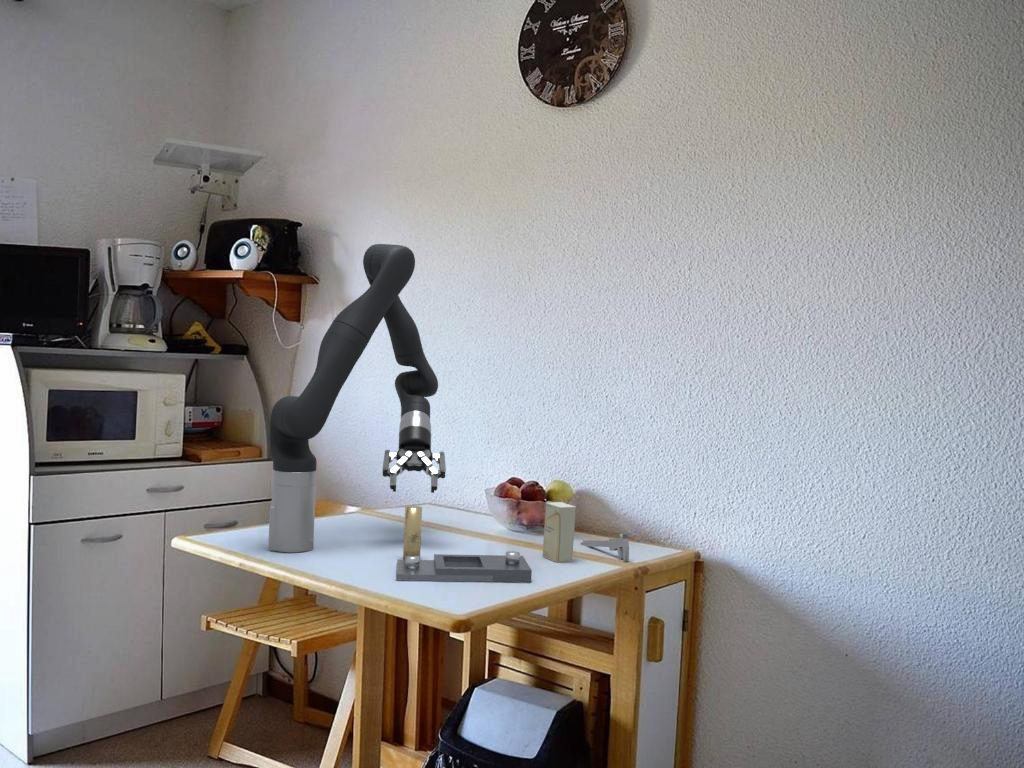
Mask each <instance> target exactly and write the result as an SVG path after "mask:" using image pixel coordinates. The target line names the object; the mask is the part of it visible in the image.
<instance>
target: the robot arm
mask: <svg viewBox="0 0 1024 768" xmlns="http://www.w3.org/2000/svg"><path fill="white" fill-rule="evenodd" d="M362 263H363V264H362V265H363V269H364V273H365V277H366V279H367V282H368V283H369V287H368V289H367V290H366V291H365V292H364V293H362V294H361V295H360V296H359V297H358V298H356V299H355V300H354V301H352V302H351V303H350V304H348V305H347V306H346V307H344V308H343V309H342V310H341V311H340V312H339V313H338V314H337V315H336V317H335V318H334V319H333V321H332V322H331V324H330V326H329V328H328V329H327V330H326V332H325V334H324V336H323V338H322V340H321V343H320V344H319V345H320V346H319V350H318V355H317V361H316V368H315V370H314V373H313V375H312V377H311V378H310V381H309V382H308V383H307V385H305V386H306V387H305V388H304V389H303V391H302V392H301V393H300V394H299V396H296V395H295V396H293V395H289V396H288V395H287V396H284V397H281V398H280V399H278V400H277V401H276V402H275V404H274V405H273V407H272V408H271V412H270V419H269V453H270V458H271V461H272V483H271V484H272V486H271V487H272V488H271V489H272V490H271V492H272V493H271V505H270V507H269V517H268V518H269V522H268V523H269V524H268V546H267V551H274V552H280V553H301V552H302V553H303V552H308V551H311V550H313V549H314V541H315V538H314V537H315V536H314V535H315V519H316V518H315V513H316V512H315V511H316V492H317V457H316V456H315V455H314V453H313V452H312V451H311V449H310V445H309V443H310V441H309V440H310V439H313V438H315V437H316V436H317V435H318V434H319V433H320V432H321V431H322V430H323V428H324V426H325V424H326V423H327V420H328V418H329V415H330V413H331V411H332V409H333V407H334V405H335V402H336V399H337V398H338V396H339V394H340V392H341V390H342V389H343V387H344V384H345V383H346V381H347V380H348V378H349V376H350V374H351V372H352V371H353V369H354V368H355V365H356V364H357V362H358V361H359V360H360V358H361V356H362V355H363V353H364V351H365V349H366V348H367V346H368V345H369V342H370V341H371V338H372V337H373V336H374V333H375V332H376V329H377V328H378V327H379V325H380V323H381V322H382V321H383V319H384V322H385V325H386V328H387V330H388V334H389V338H390V342H391V346H392V351H393V354H394V355H393V356H394V358H395V361H396V363H397V364H398V365H399V366H403V367H409V368H410V367H411V368H415V369H416V370H410V371H402V372H400V373H398V375H397V376H396V377H395V379H394V388H395V391H396V394H397V397H398V398H399V403H400V422H399V429H398V451H397V452H391V451H390V450H389V449H385V451H384V455H383V463H382V477H384V478H385V477H389V489H390V490H392V492H393V493H394V492H395V493H396V492H397V477H398V476H399V475H402V474H403V473H404V472H405V471H407V472H413V471H415V472H422V471H423V472H424V473H425V474H426V476H429V478H430V493H431V494H433V493H435V491H437V490H438V486H439V483H438V481H439V479H445V478H446V472H447V468H446V455H445V452H444V451H440V452H439V453H432V423H431V404H430V401H429V400H428V399H427V398H429V397H433V396H434V395H435V394H436V393H437V392H438V388H439V381H438V377H437V375H436V373H435V372H434V370H433V367H432V366H431V365H430V363H429V361H428V360H427V357H426V355H425V352H424V348H423V345H422V340H421V336H420V333H419V329H418V327H417V323H416V322H415V321H414V319H413V317H412V316H411V314H410V313H409V311H408V310H407V308H406V306H405V305H404V303H403V302H402V300H401V298H400V296H399V295H400V294H401V292H402V291H403V290H404V288H405V287H406V286H407V284H408V283H409V281H410V280H411V278H412V276H413V275H414V274H413V273H414V271H415V268H416V267H415V266H416V258H415V255H414V252H413V250H412V249H410V247H407V246H405V245H400V244H388V243H375V244H372V245H370V246H369V247H368V248H367V249H366V250H365V252H364V255H363V260H362ZM394 460H396V461H397V462H396V463H395V464H394V466H393V467H392V468H390V463H392V462H393V461H394ZM432 461H435V463H436V464H437V465H438V467H439V469H436V467H435V466H434V465H433V462H432Z"/></svg>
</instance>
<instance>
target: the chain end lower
mask: <svg viewBox="0 0 1024 768" xmlns="http://www.w3.org/2000/svg"><path fill="white" fill-rule="evenodd" d="M396 561H397V563H396V581H397V582H398V581H403V582H404V581H405V582H406V581H407V582H409V581H410V582H463V583H464V582H469V583H472V582H474V583H479V582H480V583H494V582H493V576H475V575H436V571H435V564H434V559H421V556H420V557H419V556H415V555H409V556H406V558H405V560H404V559H396ZM444 564H445V567H481V566H480V563H467V562H444Z"/></svg>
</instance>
